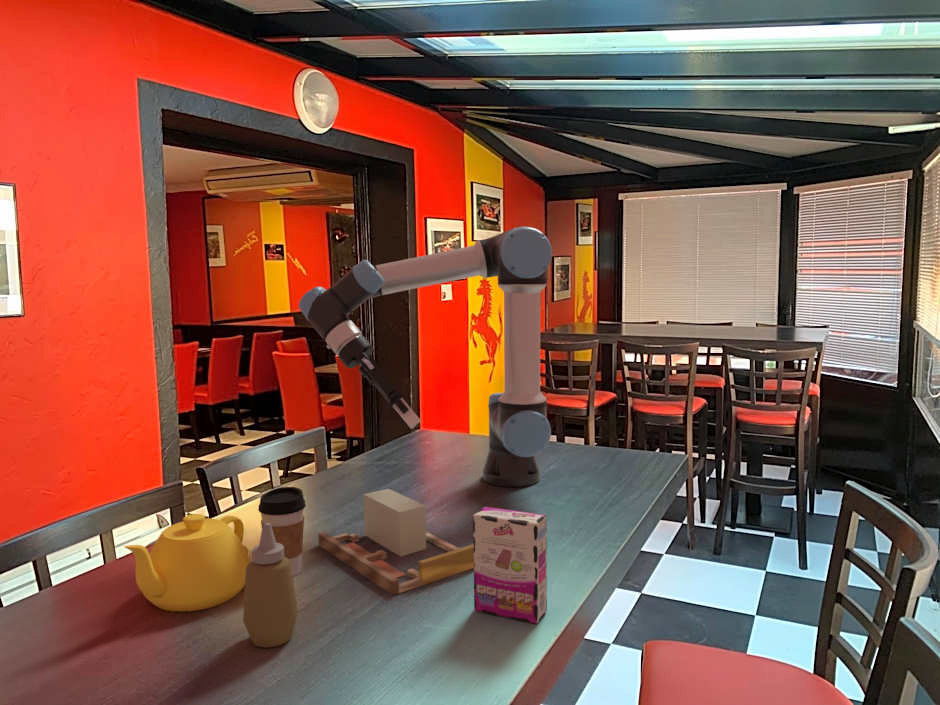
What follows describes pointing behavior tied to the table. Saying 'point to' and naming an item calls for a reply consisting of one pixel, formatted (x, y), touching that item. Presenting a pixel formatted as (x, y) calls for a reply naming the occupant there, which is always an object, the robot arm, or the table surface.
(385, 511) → the brick
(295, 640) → the table surface
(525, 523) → the candy bar box
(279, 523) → the coffee cup
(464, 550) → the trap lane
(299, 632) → the table surface
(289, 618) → the squeeze bottle
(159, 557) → the teapot
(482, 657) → the table surface
